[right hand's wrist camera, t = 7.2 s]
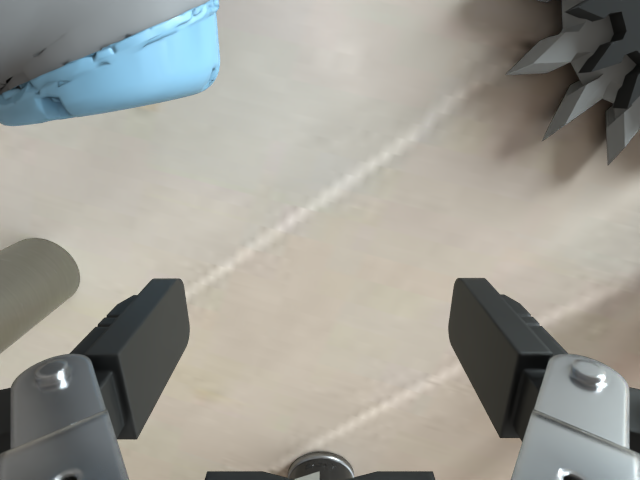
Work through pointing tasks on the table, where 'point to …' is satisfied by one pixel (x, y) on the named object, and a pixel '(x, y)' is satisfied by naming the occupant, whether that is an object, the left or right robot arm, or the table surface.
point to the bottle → (32, 285)
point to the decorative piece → (595, 65)
